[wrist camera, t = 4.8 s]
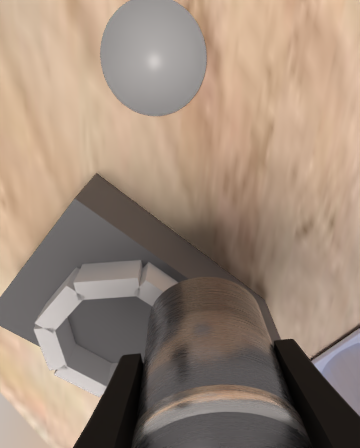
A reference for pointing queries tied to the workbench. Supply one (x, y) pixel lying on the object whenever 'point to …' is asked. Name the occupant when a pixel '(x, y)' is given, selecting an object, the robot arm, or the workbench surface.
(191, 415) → the lens
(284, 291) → the workbench surface
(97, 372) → the camera body
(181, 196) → the workbench surface
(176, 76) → the grey domed disc
